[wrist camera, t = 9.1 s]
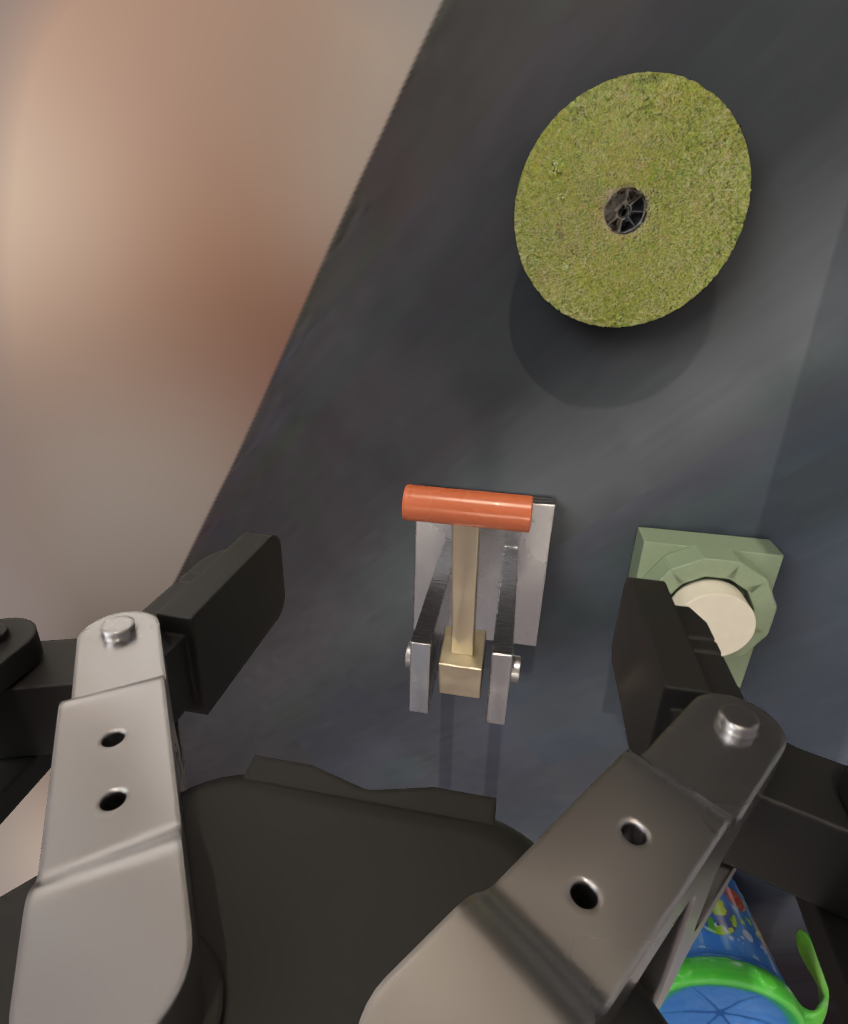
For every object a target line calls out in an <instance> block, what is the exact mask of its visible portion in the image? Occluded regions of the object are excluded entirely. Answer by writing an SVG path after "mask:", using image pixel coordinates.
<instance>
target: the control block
mask: <svg viewBox="0 0 848 1024" xmlns="http://www.w3.org/2000/svg"><path fill="white" fill-rule="evenodd" d="M783 557H784V555H783V554H782V553H781V552H780V551H779V549H778V548H777V547H776V546H775V545H774V544H773V543H772V542H771V540H768V539H757V538H747V537H737V536H727V535H717V534H706V533H696V532H686V531H676V530H666V529H655V528H645V527H638V530H637V535H636V540H635V544H634V549H633V554H632V559H631V564H630V569H629V574H628V577H633V578H641V579H650V580H659V581H664V582H665V583H666V585H667V587H668V589H669V592H670V594H671V597H673V595H674V594H675V593H676V592H677V591H678V590H679V589H680V588H681V587H683V586H684V585H686V584H688V583H690V582H693V581H696V580H701V579H718V580H722V581H725V582H728V583H730V584H732V585H733V586H735V587H736V588H737V589H738V590H739V591H740V592H741V593H742V595H743V596H744V598H745V599H746V601H747V602H748V604H749V606H750V607H751V609H752V610H753V612H754V614H755V618H756V628H755V632H754V634H753V636H752V638H751V639H750V641H749V642H748V643H747V644H746V645H745V646H744V647H742V648H741V649H739V650H738V651H736V652H734V653H732V654H729V655H725V656H723V657H724V659H725V661H726V663H727V665H728V667H729V669H730V671H731V673H732V676H733V678H734V680H735V682H736V684H737V686H738V687H741V684H742V681H743V678H744V675H745V672H746V669H747V666H748V663H749V660H750V657H751V654H752V651H753V648H754V646H755V645H756V644H757V643H759V642H760V641H761V640H762V639H763V638H765V637H766V636H767V635H768V633H769V630H770V627H771V624H772V621H773V618H774V615H775V612H776V610H777V604H776V601H775V599H774V596H773V593H772V590H773V587H774V584H775V581H776V578H777V575H778V572H779V569H780V566H781V563H782V560H783Z"/></svg>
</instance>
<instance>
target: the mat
mask: <svg viewBox="0 0 848 1024" xmlns="http://www.w3.org/2000/svg"><path fill="white" fill-rule="evenodd" d="M750 184H751V168H750V159H749V155H748V149H747V145H746V142H745V139H744V137H743V134H742V132H741V125H737V122H736V120H735V118H734V117H733V115H732V114H731V111H730V110H729V109H728V108H726V105H725V104H724V103H723V102H722V101H721V100H720V99H719V98H718V97H716V96H715V95H714V94H713V93H711V92H709V91H708V90H707V91H706V90H705V89H704V88H703V87H702V86H701V85H700V84H698V83H697V82H695V81H692V80H688V79H687V78H685V77H682V76H678V75H674V74H671V75H670V73H659V72H648V71H647V72H646V73H633V74H628V75H626V76H619V77H618V78H614V79H611V80H608V81H606V82H603V83H601V84H600V85H597V86H596V87H594V88H593V89H588V91H587V92H585V93H583V94H581V96H578V97H577V98H576V99H575V100H574V101H572V102H571V103H570V104H569V105H568V106H566V107H565V108H564V109H563V110H561V111H560V112H559V114H558V115H557V116H556V117H555V118H554V119H553V120H552V121H551V122H550V124H549V125H548V127H547V128H546V129H545V130H544V131H543V133H542V134H541V136H540V137H539V139H538V140H537V142H536V144H535V146H534V148H533V149H532V151H531V153H530V155H529V157H528V159H527V162H526V164H525V167H524V169H523V171H522V175H521V178H520V182H519V185H518V190H517V195H516V200H515V204H516V205H515V215H514V221H515V235H516V243H517V248H518V250H519V255H520V257H521V259H520V260H521V262H522V264H523V267H524V270H525V271H526V273H527V275H528V277H529V278H530V279H531V282H532V283H533V285H534V286H535V288H536V289H537V291H539V292H540V295H542V297H543V298H544V299H545V300H546V301H547V302H549V303H551V305H552V306H554V307H555V308H556V310H558V309H560V312H561V313H563V314H565V315H568V316H569V317H570V318H574V319H576V320H578V321H581V322H584V323H587V324H589V325H596V326H600V327H605V326H607V327H624V326H634V325H637V324H642V323H646V322H649V321H652V320H656V319H657V318H661V317H663V316H665V315H667V314H669V313H671V312H673V311H674V310H676V309H678V308H680V307H681V306H683V305H684V304H685V303H686V302H688V301H689V300H690V299H692V298H694V297H695V296H696V295H697V294H698V293H699V292H700V291H701V290H702V289H703V288H705V287H706V286H707V285H708V283H710V282H711V281H712V279H713V278H714V277H715V276H716V275H717V274H718V272H719V270H720V269H721V268H722V266H723V264H724V263H725V262H726V261H727V259H728V257H729V256H730V254H731V250H733V249H734V247H735V244H736V241H737V239H738V237H739V235H740V233H741V231H742V228H743V222H744V221H745V218H746V213H747V211H748V206H749V201H750V191H752V190H751V188H750Z"/></svg>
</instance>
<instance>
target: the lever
mask: <svg viewBox="0 0 848 1024" xmlns="http://www.w3.org/2000/svg"><path fill="white" fill-rule="evenodd" d="M532 509H533V496H528V495H518V494H507V493H496V492H485V491H474V490H464V489H453V488H442V487H431V486H420V485H410V484H408V485H406V487H405V490H404V494H403V500H402V516H403V519H404V520H410V521H419V522H429V523H439V524H449V525H452V617H451V626H445V631H444V636H443V642H442V647H441V652H440V658H439V663H438V666H439V692H440V693H446V694H453V695H460V696H467V697H473V698H480V695H481V686H482V677H483V669H484V660H485V647H486V634H487V632H486V631H484V630H476V629H475V627H476V609H477V590H478V572H479V553H480V535H481V528H488V529H497V530H507V531H517V532H527V533H528V532H529V531H530V527H531V519H532Z"/></svg>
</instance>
